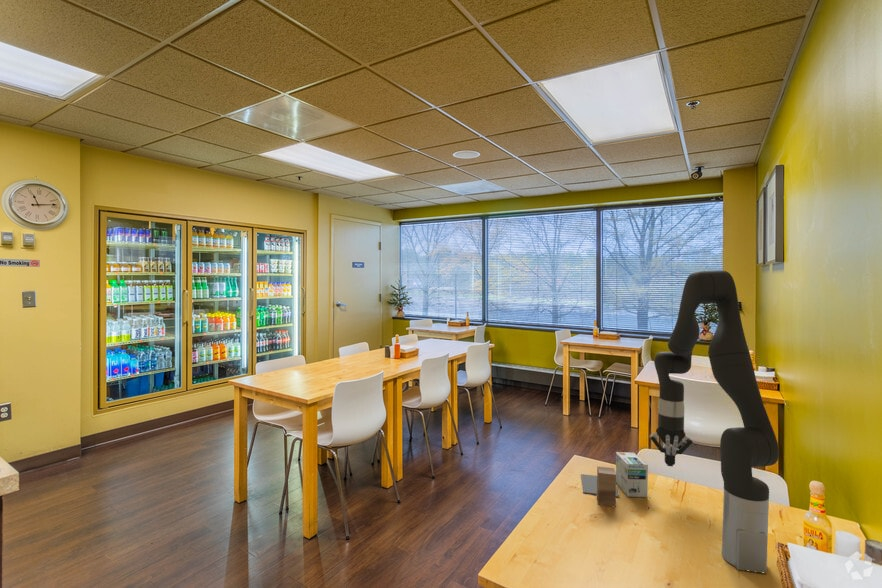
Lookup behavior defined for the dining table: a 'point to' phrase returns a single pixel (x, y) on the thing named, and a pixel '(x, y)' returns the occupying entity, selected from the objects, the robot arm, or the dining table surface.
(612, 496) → the walnut block
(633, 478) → the light bulb box
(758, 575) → the dining table surface
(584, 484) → the mat
